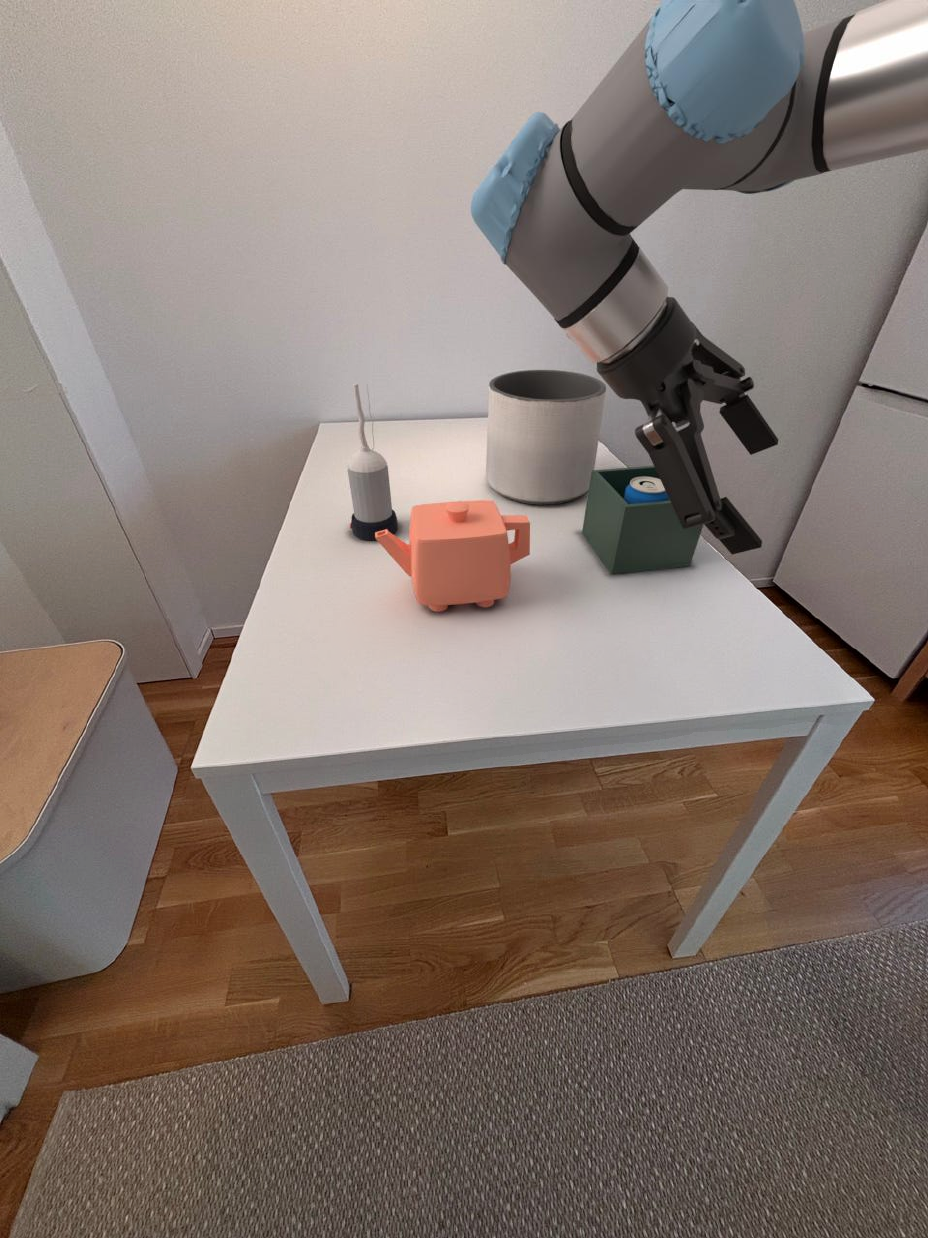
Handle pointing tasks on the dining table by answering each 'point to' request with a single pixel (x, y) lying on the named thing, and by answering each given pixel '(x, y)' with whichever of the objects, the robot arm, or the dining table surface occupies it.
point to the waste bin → (634, 526)
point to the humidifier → (369, 487)
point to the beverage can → (645, 491)
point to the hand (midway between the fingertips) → (756, 495)
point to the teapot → (459, 552)
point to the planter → (543, 434)
